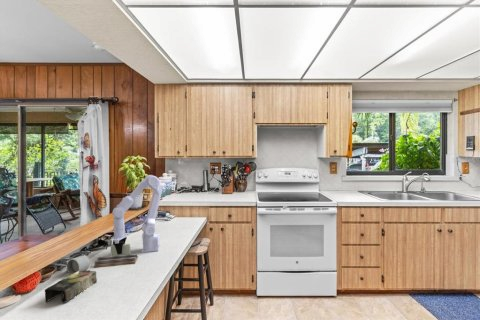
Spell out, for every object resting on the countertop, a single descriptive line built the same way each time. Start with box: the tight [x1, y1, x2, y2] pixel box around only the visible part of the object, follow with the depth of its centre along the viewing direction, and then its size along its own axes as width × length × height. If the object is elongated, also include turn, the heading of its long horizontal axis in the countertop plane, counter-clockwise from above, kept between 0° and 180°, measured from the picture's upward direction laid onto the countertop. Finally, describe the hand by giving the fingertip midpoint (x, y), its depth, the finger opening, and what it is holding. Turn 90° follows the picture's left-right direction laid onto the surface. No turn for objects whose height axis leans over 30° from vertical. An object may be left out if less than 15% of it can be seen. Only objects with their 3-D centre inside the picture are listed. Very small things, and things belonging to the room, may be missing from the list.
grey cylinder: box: [66, 255, 91, 275], centre depth 148 cm, size 11×8×8 cm
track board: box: [93, 253, 139, 269], centre depth 158 cm, size 20×9×2 cm, turn 99°
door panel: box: [110, 243, 131, 256], centre depth 168 cm, size 10×2×6 cm, turn 99°
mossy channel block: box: [44, 269, 98, 303], centre depth 126 cm, size 20×10×6 cm, turn 169°
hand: (120, 252), depth 168 cm, fingers open, 5 cm apart
